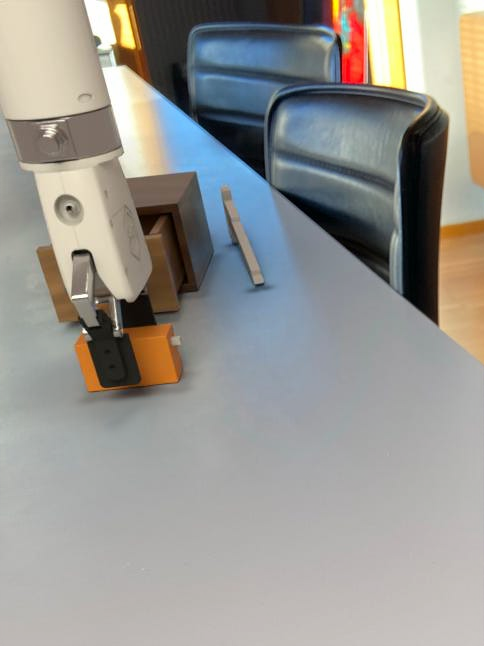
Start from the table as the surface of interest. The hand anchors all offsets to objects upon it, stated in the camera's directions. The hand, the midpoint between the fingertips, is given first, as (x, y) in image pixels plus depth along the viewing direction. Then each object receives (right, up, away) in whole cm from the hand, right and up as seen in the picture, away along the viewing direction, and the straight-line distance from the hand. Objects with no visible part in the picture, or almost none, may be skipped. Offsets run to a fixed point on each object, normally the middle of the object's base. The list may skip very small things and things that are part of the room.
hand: (132, 362), depth 85 cm
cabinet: (-7, +16, +26) cm, 31 cm away
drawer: (-6, +11, +16) cm, 20 cm away
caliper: (+3, +19, +28) cm, 33 cm away
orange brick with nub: (0, -1, +1) cm, 2 cm away
